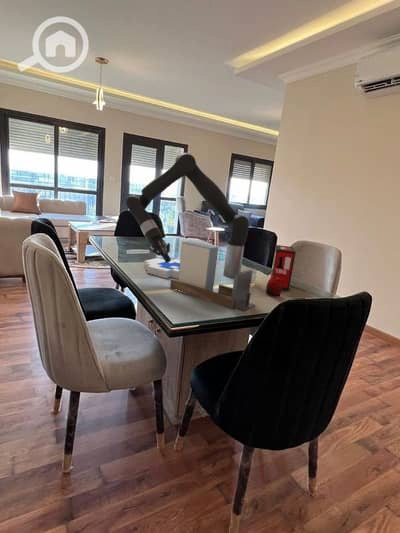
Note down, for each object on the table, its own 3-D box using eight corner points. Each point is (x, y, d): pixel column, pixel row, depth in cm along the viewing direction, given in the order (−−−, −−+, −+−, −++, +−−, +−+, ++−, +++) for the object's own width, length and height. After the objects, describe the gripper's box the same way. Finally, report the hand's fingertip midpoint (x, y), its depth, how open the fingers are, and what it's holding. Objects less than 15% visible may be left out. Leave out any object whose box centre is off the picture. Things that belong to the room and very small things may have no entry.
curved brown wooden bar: (186, 283, 151) (187, 275, 150) (249, 302, 134) (250, 293, 133) (170, 288, 141) (170, 279, 140) (235, 309, 123) (237, 299, 122)
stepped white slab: (206, 265, 176) (180, 274, 152) (206, 272, 177) (180, 282, 153) (165, 256, 188) (134, 263, 164) (164, 262, 189) (134, 270, 165)
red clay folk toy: (283, 297, 146) (289, 265, 143) (272, 298, 143) (278, 266, 139) (272, 292, 153) (277, 261, 149) (261, 293, 149) (266, 262, 146)
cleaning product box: (269, 280, 174) (275, 244, 170) (286, 283, 172) (292, 247, 168) (270, 288, 158) (276, 249, 154) (288, 291, 157) (295, 252, 152)
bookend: (244, 301, 134) (249, 269, 131) (256, 304, 131) (261, 272, 128) (229, 308, 124) (234, 274, 120) (242, 312, 121) (247, 277, 118)
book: (185, 285, 148) (190, 240, 143) (212, 293, 140) (218, 247, 135) (177, 287, 142) (181, 241, 138) (204, 296, 135) (210, 248, 130)
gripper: (145, 227, 144) (164, 258, 140) (164, 226, 155) (182, 255, 151) (136, 236, 148) (154, 267, 144) (156, 235, 159) (172, 264, 155)
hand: (168, 261), depth 148 cm, fingers closed
